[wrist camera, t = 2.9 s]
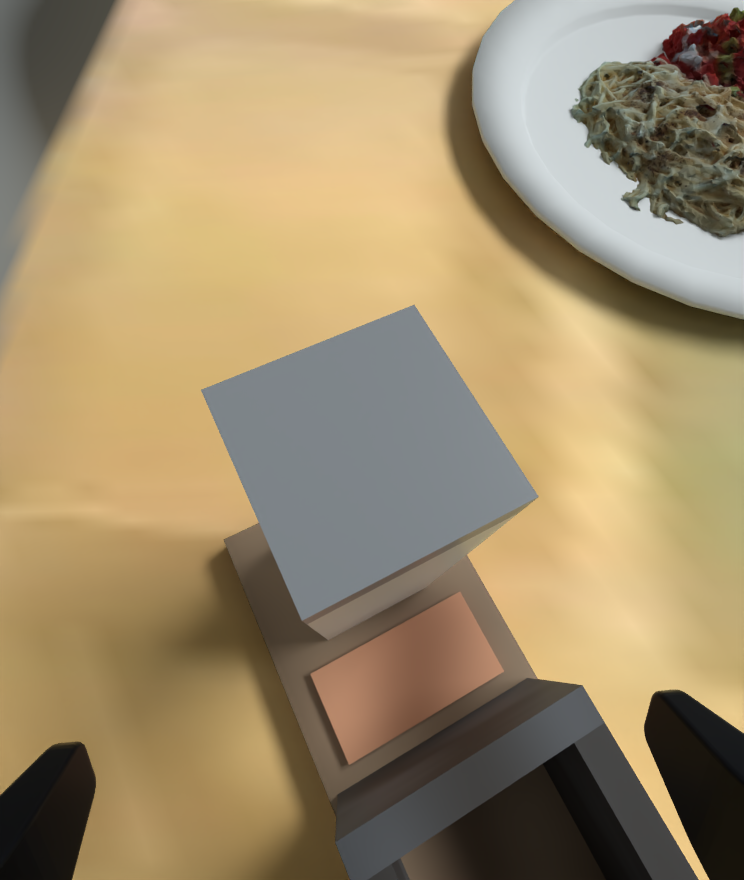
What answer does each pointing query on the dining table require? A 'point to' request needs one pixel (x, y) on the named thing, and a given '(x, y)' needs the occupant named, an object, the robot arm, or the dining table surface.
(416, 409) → the plug
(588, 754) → the socket deck
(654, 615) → the dining table surface
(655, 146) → the plated food
